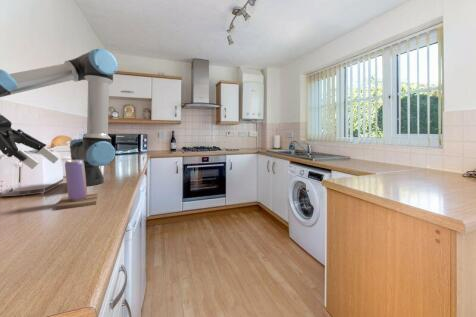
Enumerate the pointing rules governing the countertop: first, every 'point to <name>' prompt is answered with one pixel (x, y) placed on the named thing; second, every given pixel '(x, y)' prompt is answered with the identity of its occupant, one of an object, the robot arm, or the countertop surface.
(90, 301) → the countertop surface
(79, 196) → the beverage can
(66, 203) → the walnut trivet
